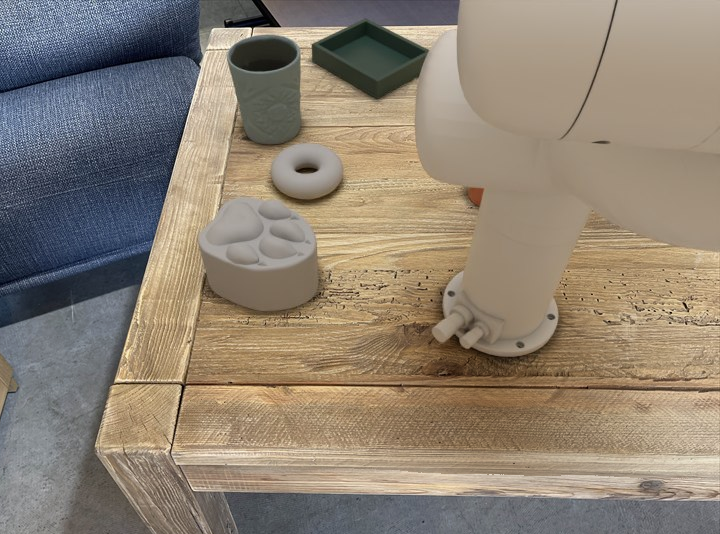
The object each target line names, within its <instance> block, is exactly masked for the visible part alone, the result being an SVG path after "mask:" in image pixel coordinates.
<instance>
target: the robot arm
mask: <svg viewBox="0 0 720 534" xmlns="http://www.w3.org/2000/svg"><path fill="white" fill-rule="evenodd" d="M456 24H457V25H456V27H457V28H453V29H449V30H446V31H444V32H443V33H441V35H440V36H438V37H437V38H436V40H435V41H434V42H433V44H432V45H431V47H430V48H429V49H428V50H429V52H428V54H427V56H426V59H425V61H424V63H423V66H422V69H421V73H420V75H419V76H418V82H417V87H416V93H415V105H414V106H415V109H414V138H415V146H416V152H417V156H418V159H419V162H420V166H421V167H422V168H423V171H424V172H425V173H426V174H427V175H428V176H429V177H430V178H432V179H433V180H435V181H439V182H440V183H445V184H448V185H453V186H459V187H466V188H467V187H468V188H469V187H475V188H484V192H483V196H482V200H481V204H480V207H479V208H478V212H477V216H476V220H475V225H474V227H473V228H474V229H473V233H472V237H471V242H470V245H469V250H468V252H467V253H468V254H467V257H466V262H465V265H464V269H462V270H460V271H459V272H458V273H457V274H455V275H454V276H453V277H452V278H451V279H450V281H449V282H448V284H447V285H446V287H445V289H444V292H443V297H442V306H441V307H442V312H443V317H444V318H443V319H442V320H441V321H439V322H438V323H436V325H435V326H433V327H432V328H431V334H432V336H433V337H434V339H435V340H437V342H438V343H446V342H447V341H448V340H449V339H451V338H452V337H453V336H454V335H455V336H456V337H457V338H458V340H459V343H460V345H461V346H462V348H465V349H466V350H469V349H470V348H473V349H474V350H477V351H479V352H481V353H483V354H487V355H489V356H490V355H491V356H496V357H497V356H498V357H503V358H506V357H507V358H508V357H511V358H514V357H520V356H526V355H528V354H531V353H534V352H536V351H538V350H540V349H541V348H543V347H544V346H545V345H546V344H547V343H548V342H549V341H550V339H551V338H552V337H553V335H554V333H555V331H556V329H557V326H558V323H559V322H558V321H559V307H558V305H557V302H556V298H555V297H554V296H555V293H556V291H557V289H558V287H559V284H560V282H561V280H562V278H563V275H564V274H565V271H566V270H567V266H568V264H569V262H570V261H571V257H572V256H573V253H574V251H575V249H576V246H577V244H578V242H579V239H580V237H581V235H582V232H583V231H584V229H585V226H586V224H587V223H588V220H589V217H590V216H591V214H592V211H593V212H595V213H596V214H598V215H599V216H600V217H602V218H604V219H605V220H607V222H610V223H611V224H613V225H615V226H617V227H618V228H621V229H623V230H625V231H628V232H630V233H633V234H636V235H637V236H640V237H643V238H646V239H649V240H652V241H655V242H658V243H661V244H666V245H669V246H674V247H679V248H684V249H689V250H696V251H697V250H698V251H704V252H705V251H706V252H712V253H720V0H459V5H458V13H457V23H456Z"/></svg>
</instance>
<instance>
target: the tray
mask: <svg viewBox="0 0 720 534" xmlns="http://www.w3.org/2000/svg"><path fill="white" fill-rule="evenodd" d="M429 50H430V49H428V48H426V47H424V46H422V45H420V44H418V43H416V42H415V41H413V40H410V39H408V38H406V37H404V36H403V35H400V34H398V33H396V32H394V31H392V30H390V29H388V28H386V27H384V26H382V25H380V24H379V23H376V22H375V21H372V20H370V19H369V18H366V17H365V18H363V19H361V20H359V21H357V22H355V23H353V24H350V25H349V26H347V27H344V28H342V29H340V30H338V31H336V32H334V33H331V34H329V35H328V36H326V37H323V38H321V39H319V40H317V41H315V42H313V43H311V60H312V62H313V63H315V64H316V65H318V66H319V67H321V68H323V69H324V70H326V71H328V72H330V73H331V74H333V75H335V76H337V77H338V78H340V79H342V80H343V81H345V82H347V83H348V84H351V86H353V87H355V88H357V89H359V90H360V91H362V92H363V93H366V94H367V95H369V96H371V97H373V98H374V99H376V100H378V99H380V98H381V97H384V96H385V95H387V94H389V93H391V92H393V91H394V90H396V89H398V88H399V87H402V86H404V85H405V84H407V83H408V82H411V81H412V80H414V79H416V78H419V76H420V73H421V69H422V66H423V63H424V61H425V59H426V56H427V54H428V52H429Z"/></svg>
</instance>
